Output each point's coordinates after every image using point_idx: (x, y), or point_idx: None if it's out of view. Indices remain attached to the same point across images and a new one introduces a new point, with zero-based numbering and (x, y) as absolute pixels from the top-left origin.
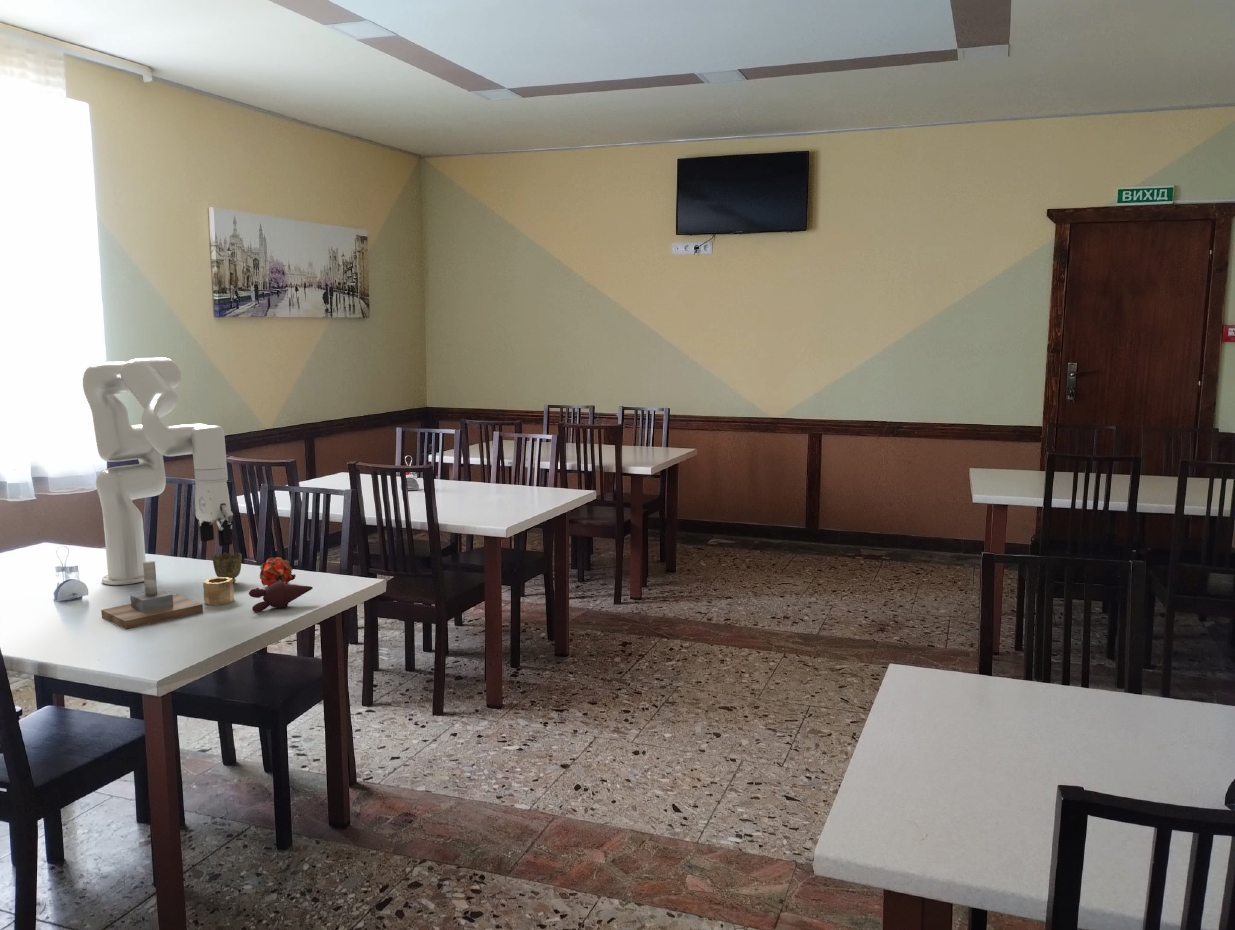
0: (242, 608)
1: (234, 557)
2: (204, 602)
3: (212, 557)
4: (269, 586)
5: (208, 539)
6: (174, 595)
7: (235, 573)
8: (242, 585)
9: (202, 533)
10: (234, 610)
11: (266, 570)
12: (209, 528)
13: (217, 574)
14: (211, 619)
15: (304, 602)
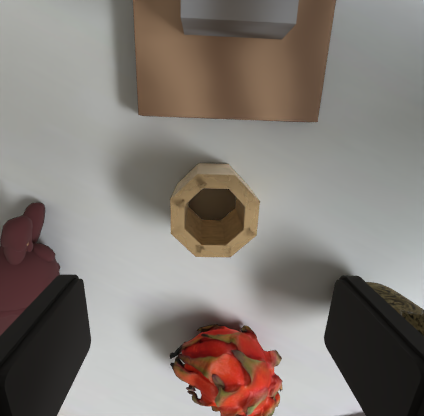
0: (100, 203)
1: None
2: (228, 164)
3: None
4: (12, 279)
5: (332, 316)
6: (309, 108)
7: None
8: (305, 302)
9: (371, 319)
10: (97, 180)
11: (214, 358)
12: (379, 402)
13: (370, 283)
14: (51, 92)
15: None
